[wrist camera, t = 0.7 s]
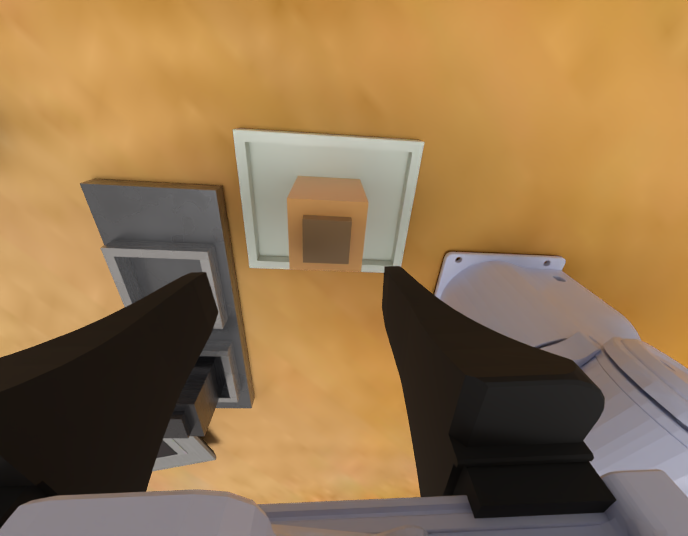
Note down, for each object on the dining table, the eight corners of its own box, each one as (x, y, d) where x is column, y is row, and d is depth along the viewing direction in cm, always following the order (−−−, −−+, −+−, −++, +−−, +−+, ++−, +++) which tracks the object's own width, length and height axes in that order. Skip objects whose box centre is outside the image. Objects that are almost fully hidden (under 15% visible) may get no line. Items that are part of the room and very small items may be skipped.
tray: (419, 139, 18) (424, 142, 16) (396, 265, 22) (399, 273, 21) (238, 128, 17) (232, 129, 16) (253, 259, 21) (249, 268, 20)
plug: (360, 179, 18) (369, 206, 13) (354, 235, 20) (361, 277, 15) (297, 175, 18) (284, 202, 13) (298, 233, 20) (288, 275, 15)
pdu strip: (94, 178, 18) (-21, 214, 12) (222, 185, 19) (170, 223, 13) (175, 396, 29) (135, 471, 23) (254, 397, 30) (235, 470, 24)
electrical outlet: (221, 440, 34) (214, 462, 32) (143, 455, 35) (131, 478, 33) (157, 368, 27) (143, 390, 25) (63, 389, 28) (42, 412, 26)
